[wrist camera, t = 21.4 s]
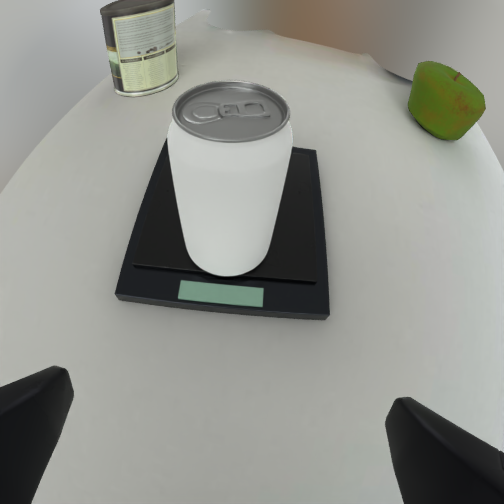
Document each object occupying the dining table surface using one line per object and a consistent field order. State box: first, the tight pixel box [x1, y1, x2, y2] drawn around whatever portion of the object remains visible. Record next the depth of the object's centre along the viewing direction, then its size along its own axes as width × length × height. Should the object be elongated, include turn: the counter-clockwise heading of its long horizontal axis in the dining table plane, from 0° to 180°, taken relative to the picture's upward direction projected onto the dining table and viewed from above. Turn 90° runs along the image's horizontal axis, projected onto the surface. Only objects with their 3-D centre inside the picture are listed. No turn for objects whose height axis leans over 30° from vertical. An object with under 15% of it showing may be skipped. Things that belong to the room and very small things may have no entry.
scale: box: [115, 138, 330, 320], centre depth 26 cm, size 18×16×2 cm
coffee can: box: [100, 0, 178, 97], centre depth 33 cm, size 10×10×14 cm
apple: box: [408, 61, 486, 140], centre depth 35 cm, size 12×12×11 cm
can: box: [167, 80, 293, 276], centre depth 18 cm, size 6×6×12 cm
